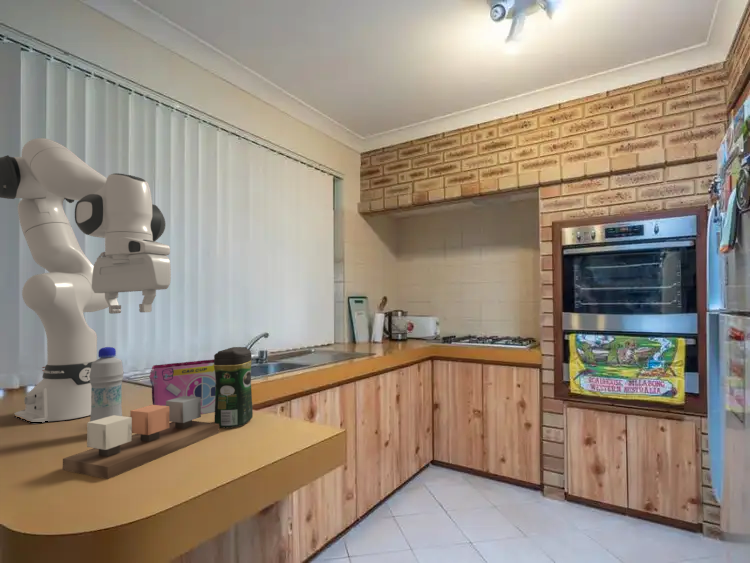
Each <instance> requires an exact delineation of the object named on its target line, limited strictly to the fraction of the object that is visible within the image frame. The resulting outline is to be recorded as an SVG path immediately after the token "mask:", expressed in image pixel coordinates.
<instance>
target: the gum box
mask: <svg viewBox="0 0 750 563" xmlns="http://www.w3.org/2000/svg"><path fill="white" fill-rule="evenodd" d="M148 377H149V380H150V385H151V399H152V401H151V402H152V405H160V406H166V401H168V400H171V399H175V398H179V397H182V396H191V397H201V415H206V414H212V413H215V384H216V379H215V369H214V358H213V359H206V360H205V359H204V360H203V359H202V360H193V361H184V362H175V363H164V364H163V363H162V364H153V365H152V366H151V369H150V373H149V376H148Z"/></svg>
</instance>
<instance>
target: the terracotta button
mask: <svg viewBox="0 0 750 563" xmlns="http://www.w3.org/2000/svg"><path fill="white" fill-rule="evenodd" d="M129 417H132V434H143V435H150V434H153V433H156V432H159V431H162V430H164V429H167V428H169V423H170V421H169V406H160V405H153V404H150V405H147V406H142V407H138V408H136V409H132V410H130V416H129Z"/></svg>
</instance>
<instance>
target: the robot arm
mask: <svg viewBox="0 0 750 563" xmlns="http://www.w3.org/2000/svg"><path fill="white" fill-rule="evenodd" d="M0 198H1V199H7V200H15V199H20V201H19V202H18V205H17V215H18V219H19V223H20V228H21V230H22V233H23V236H24V239H25V241H26V243H27V246H28V248H29V251H30V254H31V256H32V258H33V260H34V261H35V263H36V264H37V265H38V266H40V267H42V268H43V269H45V270H46V272H44V273H39V274H35V275H32V276H30V277H29V278H28V279H27V280H26V282H25V283H24V284H23V287H22V290H21V293H22V294H21V295H22V300H23V302H24V304H25V305H26V306H27V307H28V308H29V309H31V311H33V312H34V313H35V314H36V315H37V316H38V318H39V320H40V321H41V323H42V325H43V328H44V331H45V334H46V340H47V341H46V342H47V343H46V344H47V347H46V348H47V349H46V350H47V364H46V365H45V366H42V367H41V368H42V370H41V372H43V373H42V379H41V381H39V382H38V383H37V384H36V385H35V386H34V387H33V388H32V389H31V390H29V392H28V393H27V394H26V396H24V398H23V399H24V400H23V402H24V404H25V409H23V410H19V411H16V412H14V414H15V415H17V416H20V417H22V418H24V419H26V420H29V421H31V422H42V423H46V422H45V421H48V422H57V421H65V420H66V421H68V420H73V419H79V418H83V417H88V416H91V383H90V377H89V376H90V371H91V365H92V362H94V361H96V360H98V358H97V357H98V353H97V352H98V349H97V348H98V336H97V332H96V331H95V330H94V329H93V328H91V327H90V326H89V324H88V322H87V321H86V319H85V315H84V313H93V312H98V311H101V310H104V309H107V308H108V313H109V314H113V315H115V314H120V313H122V305H121V304H119V302H118V298H119V293H129V292H142V293H141V294H142V296H143V299H142V302H141V303H139V304H138V306H139V309H138V311H139V313H151V312H152V308H153V307H152V305H153V303H154V300H155V298H156V296H157V291H159V290H161V291H163V290H168V288H169V287H170V285H171V279H172V277H171V275H172V274H171V270H172V269H171V260H170V258H169V255H170V254H171V248H170V247H171V246H170V245H168V244H165V243H162V242H158V240H159V239H160V237H162V236H163V234H164V232H165V230H166V220H165V216H164V214H163V213H162V211H161V209H160V208H159V207H158V206H157V205H155V204H153V198H152V192H151V188H150V185H149V183H148V181H147V180H145V179H143V178H141V177H138V176H134V175H130V174H125V173H119V172H118V173H111V174H108V176H107V177H106V176H105V175H104V174H102V173H101V172H98V171H97V170H95V169H94V168H93V167H91V166H90V165H89V164H87V163H86V162H85V161H83V160H82V159H81V158H80V157H78V156H77V155H76V154H75V153H74V152H72V150H70V149H69V148H67V147H66V146H65V145H63V144H61V143H59V142H57V141H54V140H52V139H49V138H44V137H43V138H42V137H37V138H33V139H30V140H29V141H27V142H26V143H25V144H24V145H23V147H22V150H21V156H10V155H4V156H1V157H0ZM64 201H67V203H69V204H72V203H74V202H75V201H76V204H75V206H74V222H75V224H76V225H77V227H78V228H79V230H80V231H81V232H82V233H83V234H84V235H87V236H89V237H90V236H91V237H95V238H101V239H104V249H105V250H104V251H103V252H101V253H100V255H98V257H97V258H96V261H95V262H94V264H93V263H92V262H91V261H90V259H88V257H87V255H85V253H84V251H83V250H82V248H81V246H80V244H79V241H78V239H77V236H76V235H75V232H74V229H73V228H72V225H71V222H70V220H69V218H68V216H67V215H66V213H65V210H64ZM14 414H13V415H14Z"/></svg>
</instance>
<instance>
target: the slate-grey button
mask: <svg viewBox="0 0 750 563" xmlns="http://www.w3.org/2000/svg"><path fill="white" fill-rule="evenodd" d="M166 406H169V423H171V422H178V423H185V422H187V421H190V420H192V421H194V420H195V419H199V418H201V417H202V414H201V397H191V396H182V397H179V398H175V399H171V400H168V401H166Z"/></svg>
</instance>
